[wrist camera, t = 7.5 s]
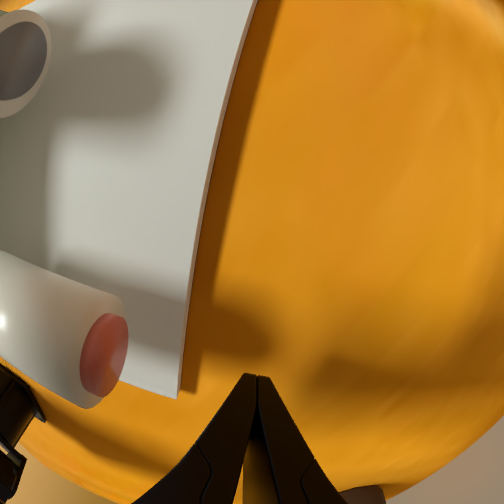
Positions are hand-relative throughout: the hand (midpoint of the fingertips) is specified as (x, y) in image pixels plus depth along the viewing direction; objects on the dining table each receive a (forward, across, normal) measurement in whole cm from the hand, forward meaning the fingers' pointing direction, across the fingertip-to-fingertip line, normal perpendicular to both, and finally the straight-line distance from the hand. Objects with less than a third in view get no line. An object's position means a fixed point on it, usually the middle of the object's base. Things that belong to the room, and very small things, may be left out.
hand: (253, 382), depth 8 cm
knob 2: (+1, +11, 0) cm, 11 cm away
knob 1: (+1, +16, -9) cm, 18 cm away
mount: (+3, +13, -4) cm, 14 cm away
